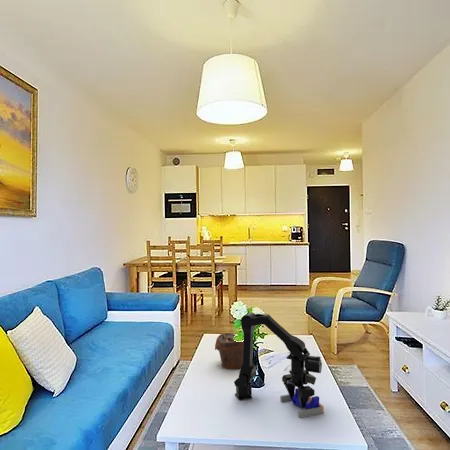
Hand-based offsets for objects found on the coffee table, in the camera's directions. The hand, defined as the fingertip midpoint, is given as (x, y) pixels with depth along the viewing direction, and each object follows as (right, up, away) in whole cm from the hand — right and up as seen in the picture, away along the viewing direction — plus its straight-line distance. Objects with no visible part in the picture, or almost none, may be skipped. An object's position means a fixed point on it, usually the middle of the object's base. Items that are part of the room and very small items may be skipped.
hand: (297, 403), depth 180 cm
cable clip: (+3, -1, 0) cm, 4 cm away
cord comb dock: (+2, -1, 0) cm, 2 cm away
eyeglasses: (+4, -1, +53) cm, 54 cm away
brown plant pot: (-28, -1, +52) cm, 59 cm away
